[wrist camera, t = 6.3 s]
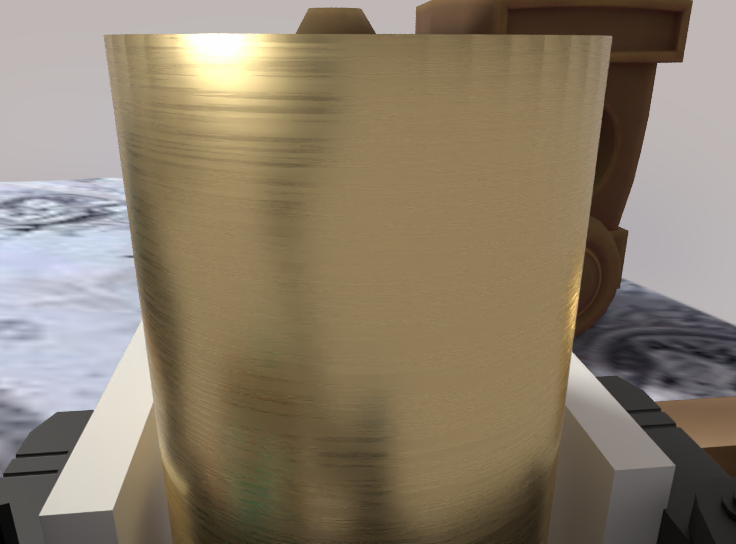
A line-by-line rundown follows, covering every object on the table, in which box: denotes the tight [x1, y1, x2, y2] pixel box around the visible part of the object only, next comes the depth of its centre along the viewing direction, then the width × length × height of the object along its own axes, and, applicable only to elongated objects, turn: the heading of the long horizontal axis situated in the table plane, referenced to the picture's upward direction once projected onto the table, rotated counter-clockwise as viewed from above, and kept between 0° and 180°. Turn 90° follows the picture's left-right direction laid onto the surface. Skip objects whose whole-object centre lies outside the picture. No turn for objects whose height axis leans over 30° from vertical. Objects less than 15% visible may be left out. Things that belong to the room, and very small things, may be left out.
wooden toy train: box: [296, 0, 693, 338], centre depth 32 cm, size 20×11×17 cm, turn 106°
